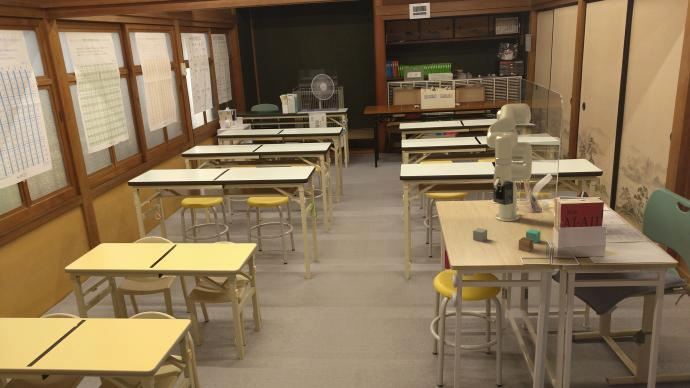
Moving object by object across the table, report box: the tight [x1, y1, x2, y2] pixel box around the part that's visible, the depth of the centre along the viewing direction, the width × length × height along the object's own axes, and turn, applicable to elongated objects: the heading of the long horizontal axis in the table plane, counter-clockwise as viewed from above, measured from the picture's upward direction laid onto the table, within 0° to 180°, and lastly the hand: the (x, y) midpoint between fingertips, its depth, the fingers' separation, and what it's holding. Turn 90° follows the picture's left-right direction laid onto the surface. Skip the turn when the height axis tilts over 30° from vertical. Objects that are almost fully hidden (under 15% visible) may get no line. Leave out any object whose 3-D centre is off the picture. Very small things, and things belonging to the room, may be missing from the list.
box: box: [492, 180, 514, 205], centre depth 255 cm, size 8×6×11 cm
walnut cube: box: [518, 236, 535, 253], centre depth 249 cm, size 5×5×5 cm
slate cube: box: [472, 227, 488, 243], centre depth 265 cm, size 5×5×5 cm
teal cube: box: [525, 228, 541, 244], centre depth 259 cm, size 5×5×5 cm
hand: (503, 196), depth 256 cm, fingers closed on box, 7 cm apart
